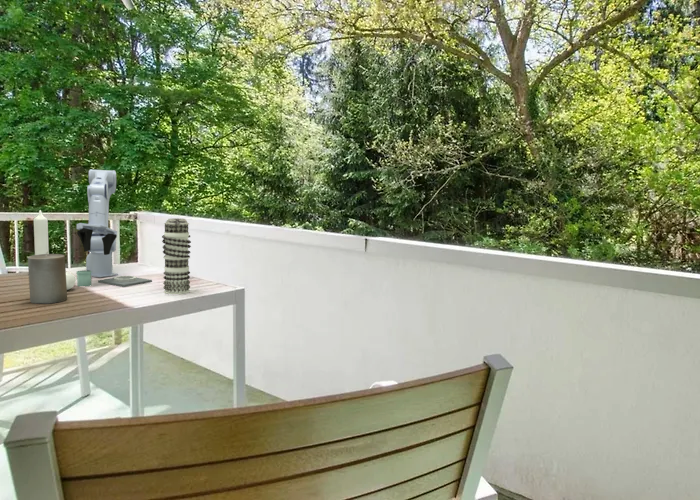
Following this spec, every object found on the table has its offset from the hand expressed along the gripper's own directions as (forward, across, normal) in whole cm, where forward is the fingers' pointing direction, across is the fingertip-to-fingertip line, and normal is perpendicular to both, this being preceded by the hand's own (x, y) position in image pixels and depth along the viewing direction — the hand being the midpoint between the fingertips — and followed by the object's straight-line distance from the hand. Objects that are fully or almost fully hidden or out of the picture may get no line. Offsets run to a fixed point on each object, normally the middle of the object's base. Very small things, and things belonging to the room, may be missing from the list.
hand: (97, 252), depth 174 cm
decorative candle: (+17, +12, -25) cm, 33 cm away
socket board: (+9, +12, +1) cm, 15 cm away
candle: (+1, +3, +35) cm, 35 cm away
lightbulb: (+15, -14, 0) cm, 20 cm away
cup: (+10, 0, +7) cm, 13 cm away
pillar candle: (+19, -19, -4) cm, 27 cm away
